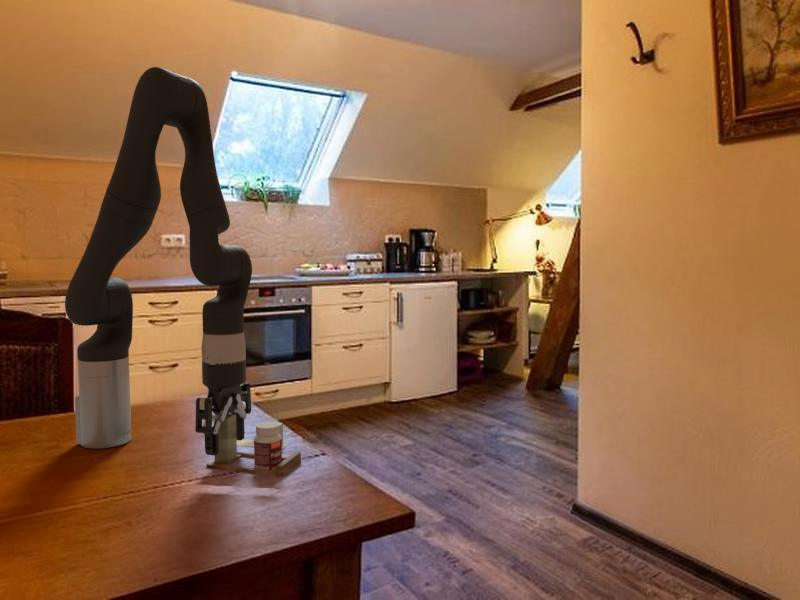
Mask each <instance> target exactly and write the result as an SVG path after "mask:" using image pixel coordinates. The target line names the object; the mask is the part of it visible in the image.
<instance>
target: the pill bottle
mask: <svg viewBox="0 0 800 600" xmlns="http://www.w3.org/2000/svg"><path fill="white" fill-rule="evenodd" d="M263 422H264V423H263ZM263 422H260V423H258V424H256V426H255V436H254V439H253V441H254V447H253V448H254V449H253V451H254V452H253V453H254V458H253V460H254V461H253V465H254V466H253V469H261V470H270V471H276V465H278V464H279V463H281V462H282V457H283V456H282V451H283V449H282V444H283V443H282V438H281V435H280V434H278V433H279V431H280V430H279V424H278V423H279V422H275V421H274V422H273V421H267V422H266V421H263ZM256 434H257V435H256Z"/></svg>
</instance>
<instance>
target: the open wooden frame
mask: <svg viewBox="0 0 800 600" xmlns="http://www.w3.org/2000/svg"><path fill="white" fill-rule="evenodd" d="M214 423H215V422H213V424H214ZM218 441H219V453H218V454H217V455H213V456H214V460H212V462H207V463H206V465H205V466H206V468H208V469H214V470H223V471H224V470H227V471H232V472H233V471H235V472H240V473H251V474H256V475H257V474H258V475H267V476H274V477H275V476H276V477H283V476H285V474H287V473H288V472H289V471H291V470H292V469H293V468H295V466H297V465H298V464H300V463H301V461H302V453H301V451H294V452H293V453H292V454H290V455H289V456H282V462H281V463H279V464H278V465H276V470H272V471H270V470H261V469H255V468H254V467H253V468H252V467H244V466H243V467H242V466H236V465H235V466H234V465H230V464H232V463H234V462H236V461H238V460H239V459H240V458H242V457H247V458H253V459H254V452H245V451H238V450H237V448H238V446H237V439H236V414H230V413H229V414H228V415H227V416H226V417H225V420H224V422H222V423H221V424H220V427H219V430H218Z"/></svg>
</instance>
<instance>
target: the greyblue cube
mask: <svg viewBox="0 0 800 600" xmlns="http://www.w3.org/2000/svg"><path fill="white" fill-rule="evenodd" d="M264 422H265V421H263V422H262V423H264ZM277 423H278V424H279V430H280V431H279V433H278V434H280V435H281V438H282V444H284V422H277ZM256 435H257V434H256V433H255V436H256Z"/></svg>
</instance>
